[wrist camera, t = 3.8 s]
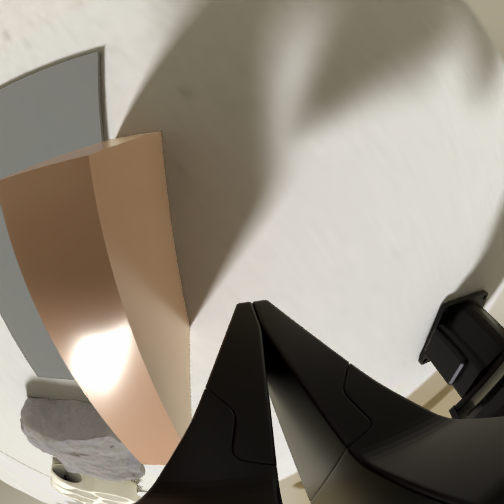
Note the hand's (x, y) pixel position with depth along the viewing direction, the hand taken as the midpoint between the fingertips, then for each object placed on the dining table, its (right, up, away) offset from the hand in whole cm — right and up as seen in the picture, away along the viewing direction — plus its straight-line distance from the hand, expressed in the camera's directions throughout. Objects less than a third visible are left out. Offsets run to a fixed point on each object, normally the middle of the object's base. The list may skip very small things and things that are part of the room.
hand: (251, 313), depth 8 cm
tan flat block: (-4, +2, +5) cm, 7 cm away
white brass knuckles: (-23, -33, +19) cm, 44 cm away
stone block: (-15, -15, +12) cm, 24 cm away
